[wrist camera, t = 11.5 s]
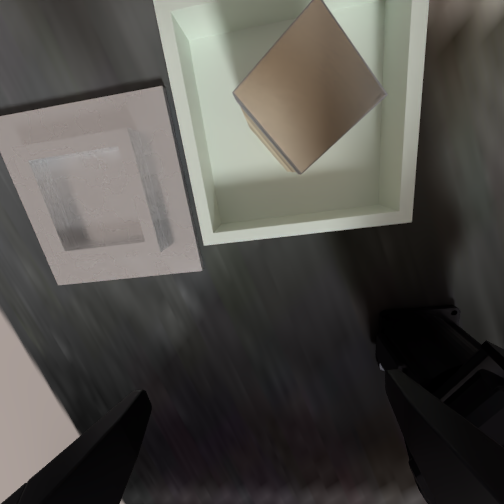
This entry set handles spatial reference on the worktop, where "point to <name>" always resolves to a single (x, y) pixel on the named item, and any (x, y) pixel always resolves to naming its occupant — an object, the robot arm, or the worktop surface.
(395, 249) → the worktop surface
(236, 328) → the worktop surface
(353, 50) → the strut
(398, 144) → the bin
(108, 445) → the robot arm
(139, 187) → the socket collar
